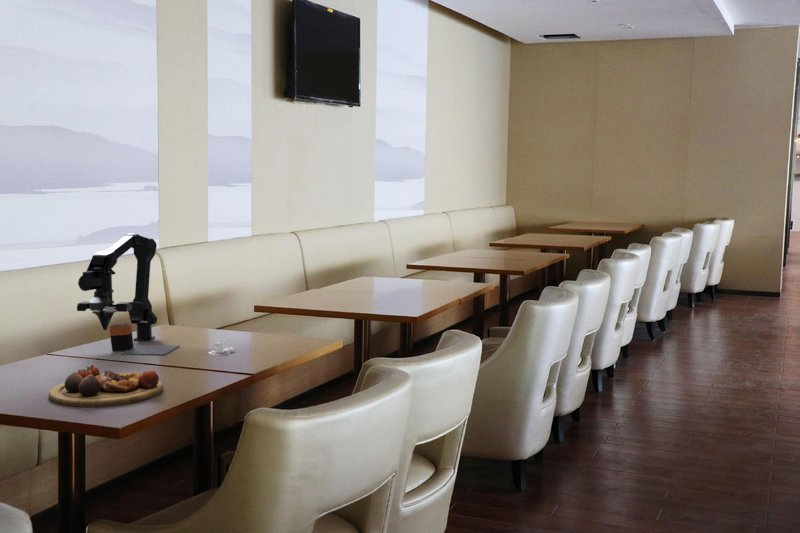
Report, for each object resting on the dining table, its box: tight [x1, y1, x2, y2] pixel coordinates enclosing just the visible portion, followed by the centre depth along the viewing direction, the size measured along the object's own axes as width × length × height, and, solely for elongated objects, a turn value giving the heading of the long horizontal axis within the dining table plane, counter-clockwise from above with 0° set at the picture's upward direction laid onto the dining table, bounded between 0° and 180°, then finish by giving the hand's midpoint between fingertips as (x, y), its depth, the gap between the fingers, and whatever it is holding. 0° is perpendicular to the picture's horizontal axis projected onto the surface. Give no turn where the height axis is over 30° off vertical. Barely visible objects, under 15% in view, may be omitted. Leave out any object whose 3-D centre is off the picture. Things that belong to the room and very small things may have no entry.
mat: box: [120, 344, 180, 357], centre depth 328 cm, size 16×16×1 cm
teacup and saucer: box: [208, 341, 235, 356], centre depth 324 cm, size 9×8×4 cm
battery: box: [108, 321, 134, 352], centre depth 328 cm, size 4×7×10 cm, turn 86°
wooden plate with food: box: [48, 364, 164, 408], centre depth 264 cm, size 32×32×8 cm
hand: (105, 329), depth 328 cm, fingers closed
